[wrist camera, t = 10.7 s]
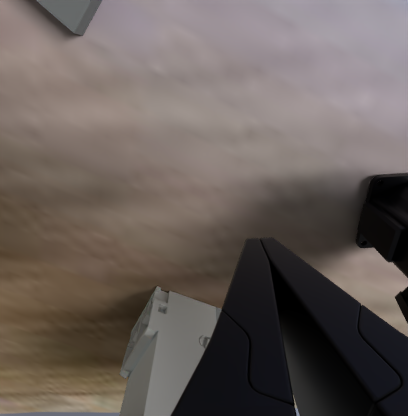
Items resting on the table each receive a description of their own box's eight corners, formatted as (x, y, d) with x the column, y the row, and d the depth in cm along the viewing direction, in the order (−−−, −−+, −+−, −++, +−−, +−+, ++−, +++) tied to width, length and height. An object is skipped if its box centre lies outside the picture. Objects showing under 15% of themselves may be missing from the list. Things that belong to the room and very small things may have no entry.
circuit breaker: (243, 366, 32) (271, 579, 18) (131, 331, 29) (69, 557, 15) (279, 329, 28) (343, 556, 15) (157, 286, 25) (105, 522, 12)
